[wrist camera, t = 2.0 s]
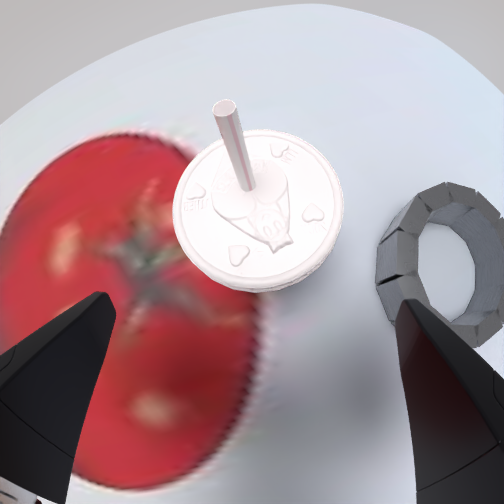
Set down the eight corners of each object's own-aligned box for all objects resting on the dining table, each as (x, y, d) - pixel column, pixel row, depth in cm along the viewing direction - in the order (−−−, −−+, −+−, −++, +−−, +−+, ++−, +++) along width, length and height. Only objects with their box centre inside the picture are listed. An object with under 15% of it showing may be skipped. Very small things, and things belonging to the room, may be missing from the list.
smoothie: (288, 196, 20) (282, 23, 7) (335, 273, 19) (434, 175, 5) (208, 239, 20) (91, 114, 7) (250, 321, 19) (160, 328, 5)
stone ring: (501, 304, 16) (531, 299, 12) (406, 370, 16) (432, 380, 13) (453, 189, 19) (477, 167, 15) (352, 234, 19) (366, 214, 15)
